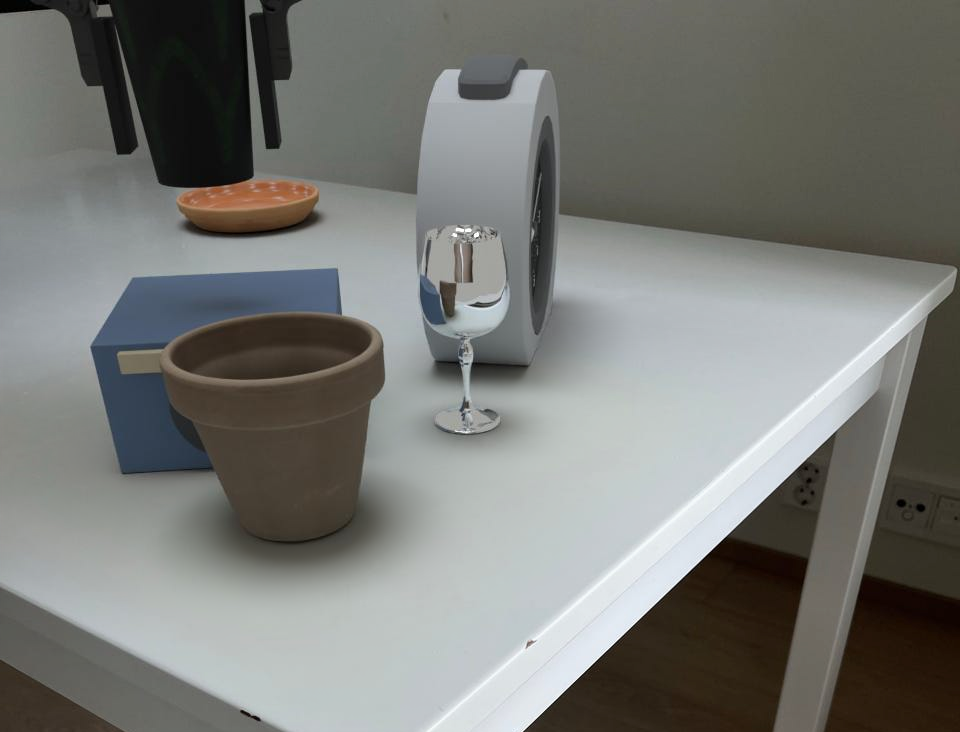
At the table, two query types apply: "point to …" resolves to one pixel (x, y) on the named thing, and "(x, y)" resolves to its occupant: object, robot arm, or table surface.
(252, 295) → the blue tabbed box
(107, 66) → the robot arm
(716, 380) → the table surface
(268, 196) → the saucer
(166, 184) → the cup
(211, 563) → the table surface
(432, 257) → the wineglass
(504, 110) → the alarm clock
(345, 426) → the flower pot
